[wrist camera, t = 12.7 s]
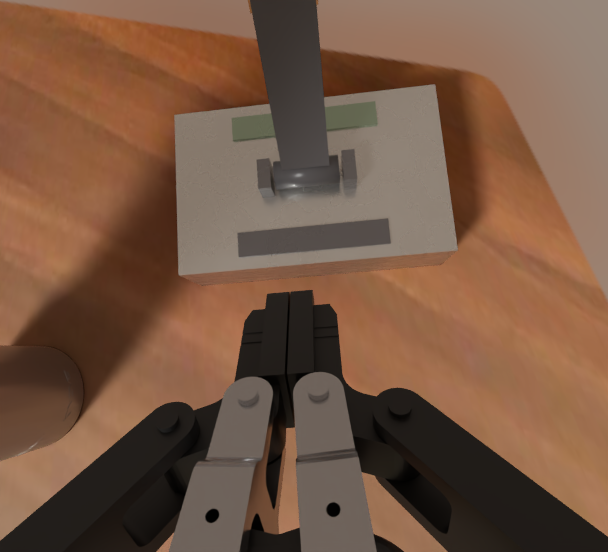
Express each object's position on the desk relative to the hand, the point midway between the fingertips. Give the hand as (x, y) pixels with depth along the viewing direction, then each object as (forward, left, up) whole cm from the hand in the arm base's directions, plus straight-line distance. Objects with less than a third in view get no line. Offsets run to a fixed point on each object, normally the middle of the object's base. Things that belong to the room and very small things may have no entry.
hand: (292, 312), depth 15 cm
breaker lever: (0, +12, -19) cm, 22 cm away
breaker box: (0, +12, -25) cm, 28 cm away
